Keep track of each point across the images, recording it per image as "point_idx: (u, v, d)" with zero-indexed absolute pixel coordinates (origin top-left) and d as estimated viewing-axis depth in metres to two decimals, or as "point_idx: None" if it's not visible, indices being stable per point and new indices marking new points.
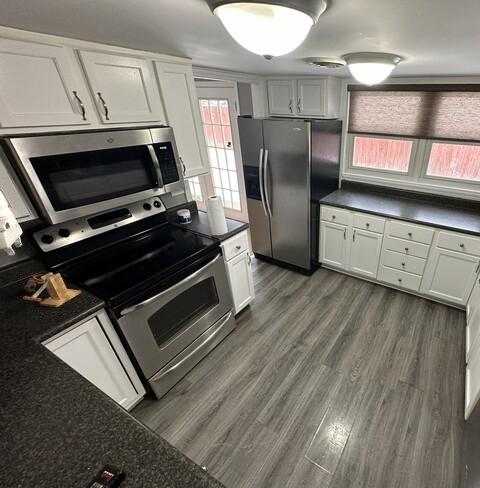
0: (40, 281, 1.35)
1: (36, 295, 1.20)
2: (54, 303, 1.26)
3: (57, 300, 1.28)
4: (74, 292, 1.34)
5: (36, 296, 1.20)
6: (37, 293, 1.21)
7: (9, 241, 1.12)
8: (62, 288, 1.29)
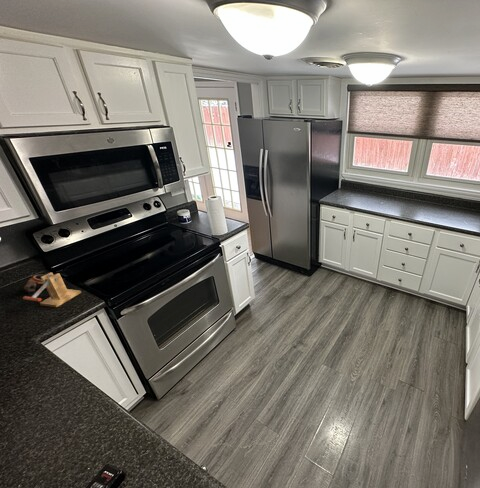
0: (40, 281, 1.35)
1: (36, 295, 1.20)
2: (54, 303, 1.26)
3: (57, 300, 1.28)
4: (74, 292, 1.34)
5: (36, 296, 1.20)
6: (37, 293, 1.21)
7: None
8: (62, 288, 1.29)
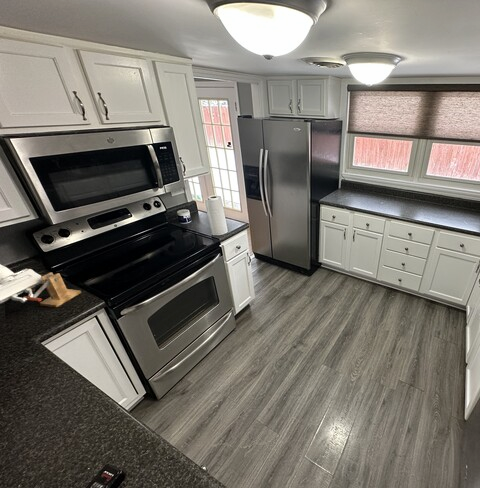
0: None
1: (36, 295, 1.20)
2: (54, 303, 1.26)
3: (57, 300, 1.28)
4: (74, 292, 1.34)
5: (36, 296, 1.20)
6: (37, 293, 1.21)
7: None
8: (62, 288, 1.29)
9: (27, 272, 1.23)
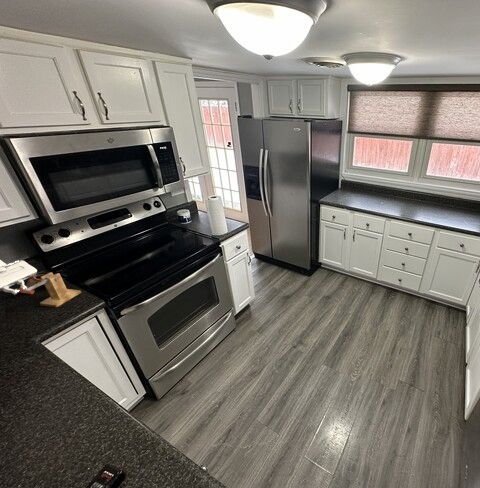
0: (40, 281, 1.35)
1: (30, 289, 1.18)
2: (54, 303, 1.26)
3: (57, 300, 1.28)
4: (74, 292, 1.34)
5: None
6: (32, 287, 1.18)
7: None
8: (62, 288, 1.29)
9: (20, 263, 1.20)
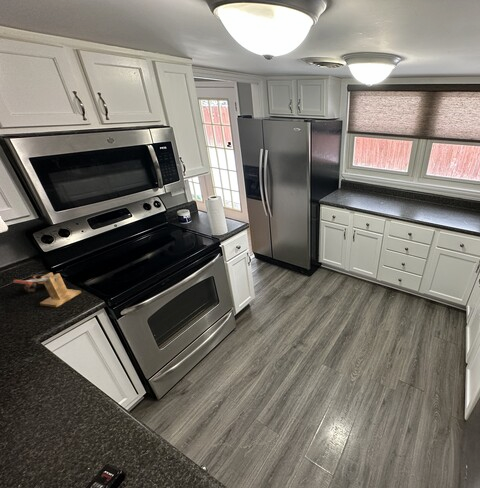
0: (40, 281, 1.35)
1: None
2: (54, 303, 1.26)
3: (57, 300, 1.28)
4: (74, 292, 1.34)
5: None
6: (31, 280, 1.18)
7: None
8: (62, 288, 1.29)
9: None
